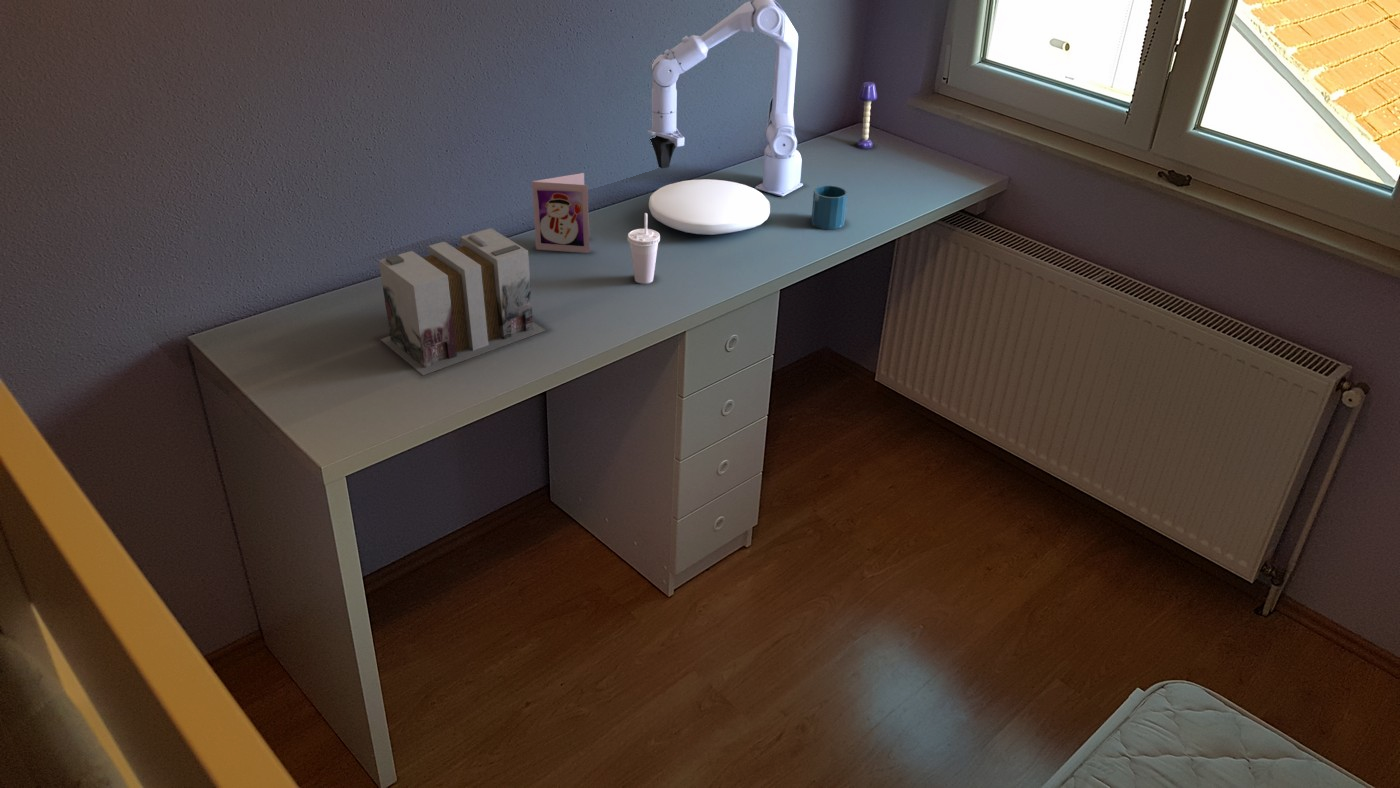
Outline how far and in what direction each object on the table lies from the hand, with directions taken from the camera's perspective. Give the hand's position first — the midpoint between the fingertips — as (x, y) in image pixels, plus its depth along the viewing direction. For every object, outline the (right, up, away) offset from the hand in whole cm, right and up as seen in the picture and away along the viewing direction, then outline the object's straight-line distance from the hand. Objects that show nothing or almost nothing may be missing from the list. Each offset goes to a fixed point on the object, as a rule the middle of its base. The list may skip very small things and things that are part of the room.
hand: (663, 167), depth 251 cm
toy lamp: (+52, +12, +33) cm, 62 cm away
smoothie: (-3, -31, -37) cm, 48 cm away
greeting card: (-20, -22, -24) cm, 38 cm away
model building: (-34, -43, -57) cm, 79 cm away
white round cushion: (+11, -14, -10) cm, 20 cm away
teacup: (+37, -15, -11) cm, 42 cm away
